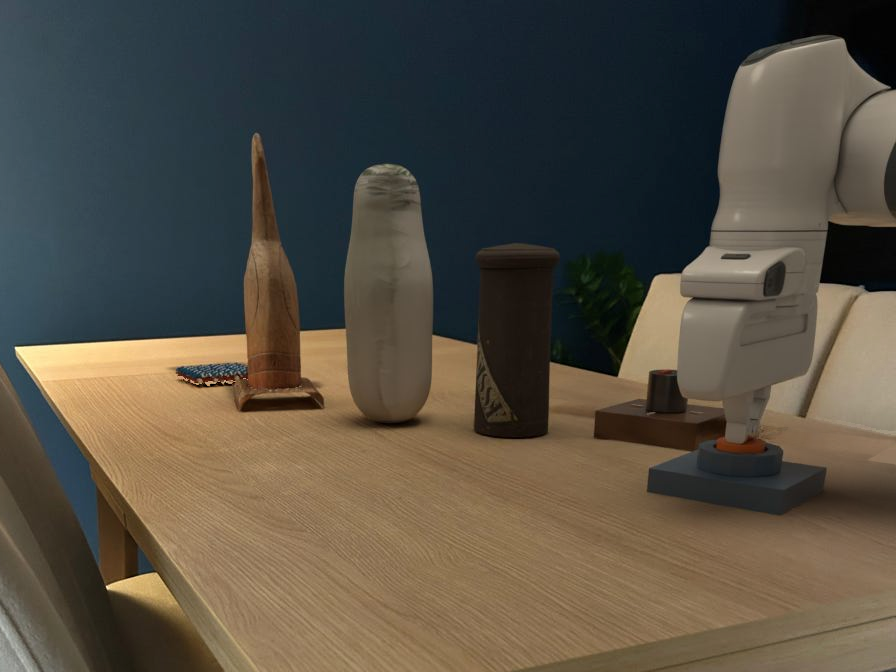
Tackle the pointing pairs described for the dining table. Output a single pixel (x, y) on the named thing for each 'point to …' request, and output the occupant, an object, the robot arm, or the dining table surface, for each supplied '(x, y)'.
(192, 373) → the woven mat
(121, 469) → the dining table surface
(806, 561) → the dining table surface
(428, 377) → the grey rounded cylinder
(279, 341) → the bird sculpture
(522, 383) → the container
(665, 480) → the housing
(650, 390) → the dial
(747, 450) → the orange push button
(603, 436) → the dial panel
